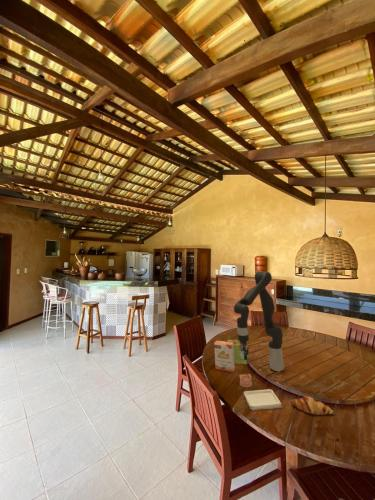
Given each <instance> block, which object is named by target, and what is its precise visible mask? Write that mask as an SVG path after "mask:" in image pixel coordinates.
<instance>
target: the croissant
mask: <svg viewBox="0 0 375 500" xmlns="http://www.w3.org/2000/svg"><path fill="white" fill-rule="evenodd" d="M290 403H291V405H293V406H294V407H295V408H297V410H299V411H303V412H304V413H306V414H311V415H315V416H317V415H318V416H319V415H322V416H323V415H332V414H333V413H334V410H333V409H331V408H330V407H329V405H325V404H324V402H321V401H320V400H317V401H316V400H315V399H314V398H313V397H311V396H309V395H308V396H307V395H306V396H303V397H299V398H294V399H290Z"/></svg>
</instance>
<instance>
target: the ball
mask: <svg viewBox="0 0 375 500" xmlns="http://www.w3.org/2000/svg"><path fill="white" fill-rule="evenodd" d="M240 356H241V358H242V359H244V353H243V351H241V353H240ZM247 357H248V358H249V354H248V355H247Z"/></svg>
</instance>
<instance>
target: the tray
mask: <svg viewBox="0 0 375 500" xmlns="http://www.w3.org/2000/svg"><path fill="white" fill-rule="evenodd" d="M243 396H245V397H244V398H246V399H245V401H246V403H247V406H248V407H250V408H249V410H250V409H251V410H252V411H262V410H264V411H265V410H272V409H273V410H274V409H282V408H283V406H282V405H283V404H282V402H281V401H280V399H279V398H278V396H277V395H276V393H275V392H274V391H273V389H272V388H271V389H258V390H246V391H243ZM251 410H250V411H251Z"/></svg>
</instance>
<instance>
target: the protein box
mask: <svg viewBox="0 0 375 500" xmlns="http://www.w3.org/2000/svg"><path fill="white" fill-rule="evenodd" d="M227 342H233V347H234V365H236V364H238V365H248V360H244V359H242V358H241V356H240V353H241V348H240V342H239V340H238V339H227Z"/></svg>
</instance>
